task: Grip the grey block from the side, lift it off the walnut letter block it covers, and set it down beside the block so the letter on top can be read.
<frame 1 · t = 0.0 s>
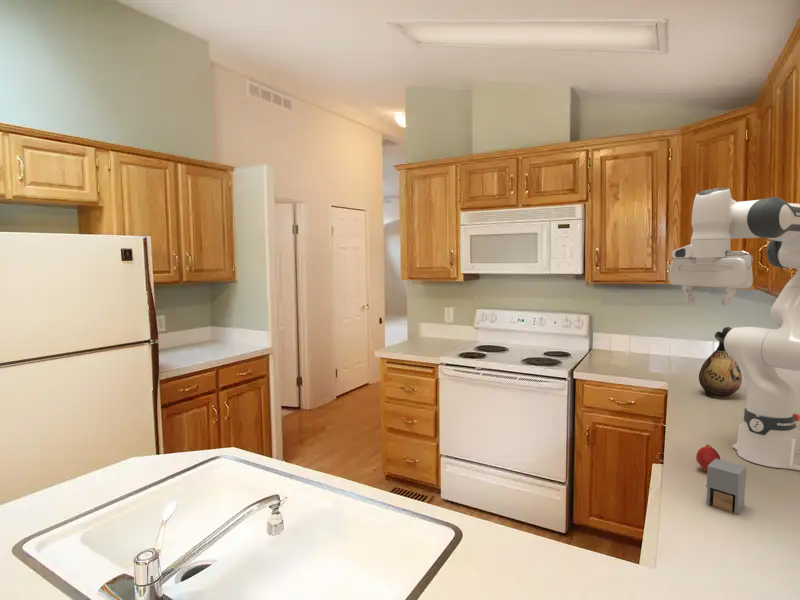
hand: (707, 303, 128), 48 cm above the countertop, tool pointing down, fingers open, 8 cm apart
ceramic jug: (719, 396, 210), on the countertop
letter block: (724, 506, 118), on the countertop
pomegranate: (707, 472, 137), on the countertop
grey block: (724, 505, 118), on the countertop
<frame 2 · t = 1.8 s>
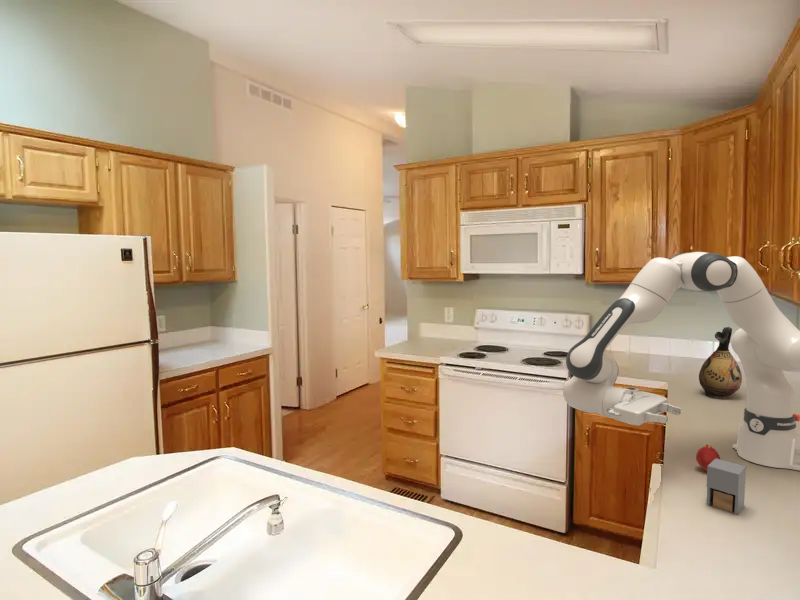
hand: (673, 415, 125), 20 cm above the countertop, tool horizontal, fingers open, 8 cm apart
nothing on the countertop moved.
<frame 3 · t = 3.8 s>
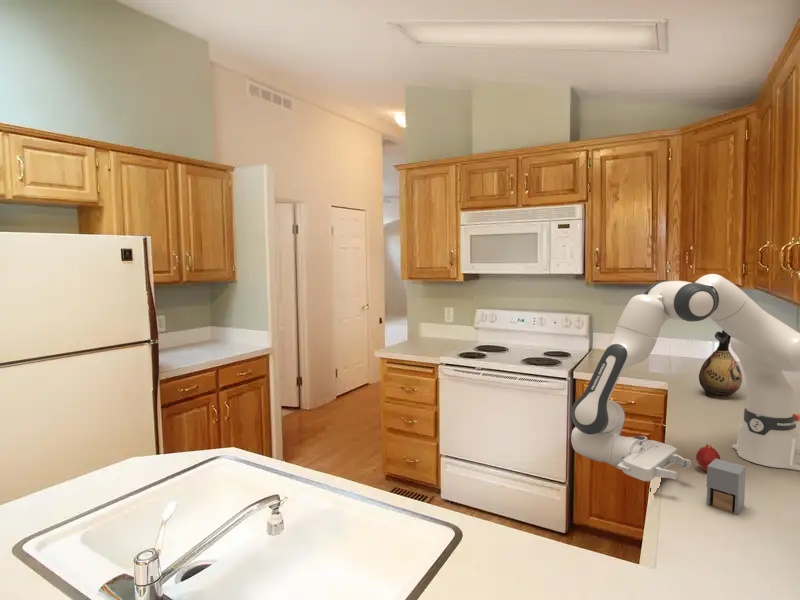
hand: (683, 470, 125), 6 cm above the countertop, tool horizontal, fingers open, 8 cm apart
nothing on the countertop moved.
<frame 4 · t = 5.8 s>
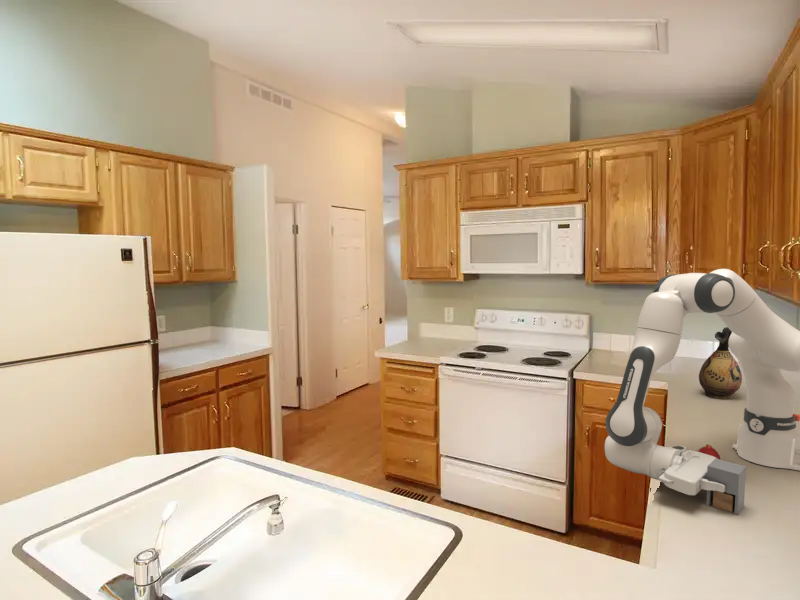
hand: (730, 483, 117), 6 cm above the countertop, tool horizontal, fingers closed on grey block, 6 cm apart
grey block: (724, 505, 118), on the countertop, touching gripper
everything else where it was.
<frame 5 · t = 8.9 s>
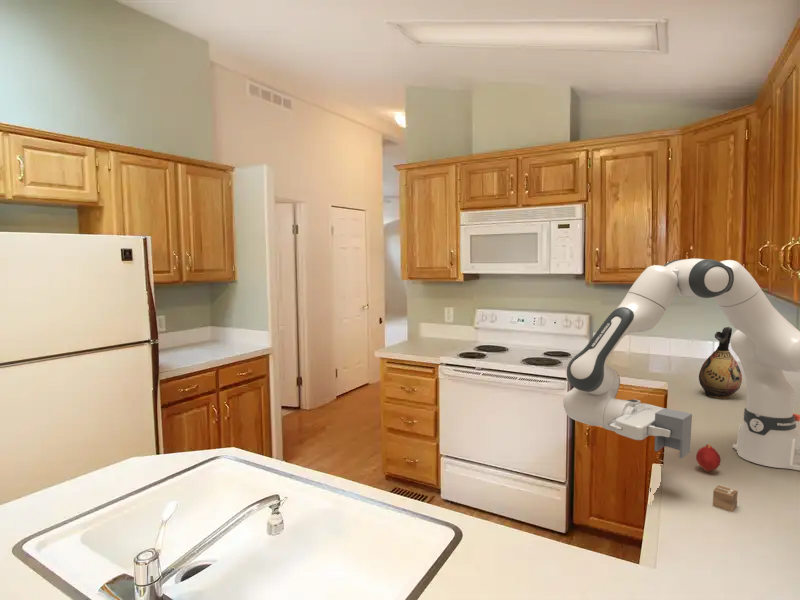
hand: (676, 429, 123), 17 cm above the countertop, tool horizontal, fingers closed on grey block, 6 cm apart
grey block: (671, 451, 124), point 11 cm above the countertop, touching gripper
everything else where it was.
when the fingers open (7 cm above the countertop, at t = 11.6 s): grey block drops 1 cm, on the countertop.
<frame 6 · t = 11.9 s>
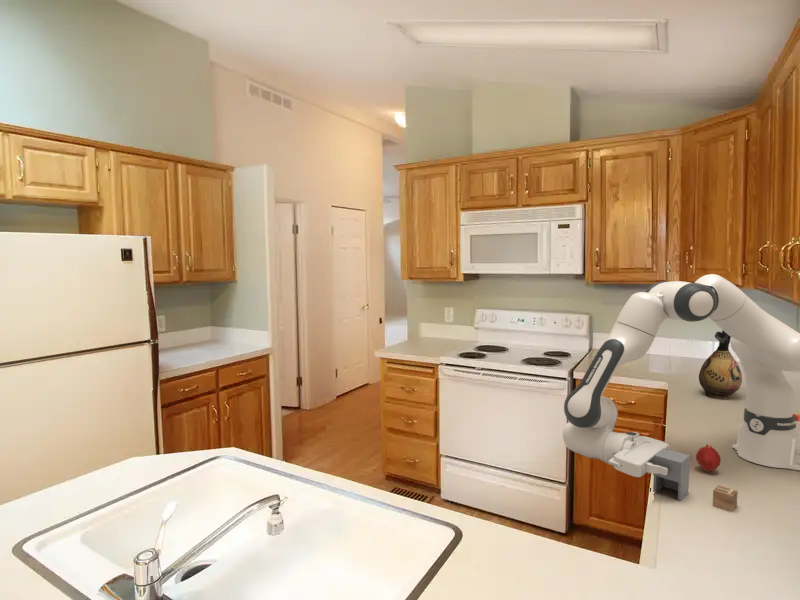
hand: (675, 465, 123), 7 cm above the countertop, tool horizontal, fingers open, 8 cm apart
grey block: (670, 493, 125), on the countertop
everything else where it was.
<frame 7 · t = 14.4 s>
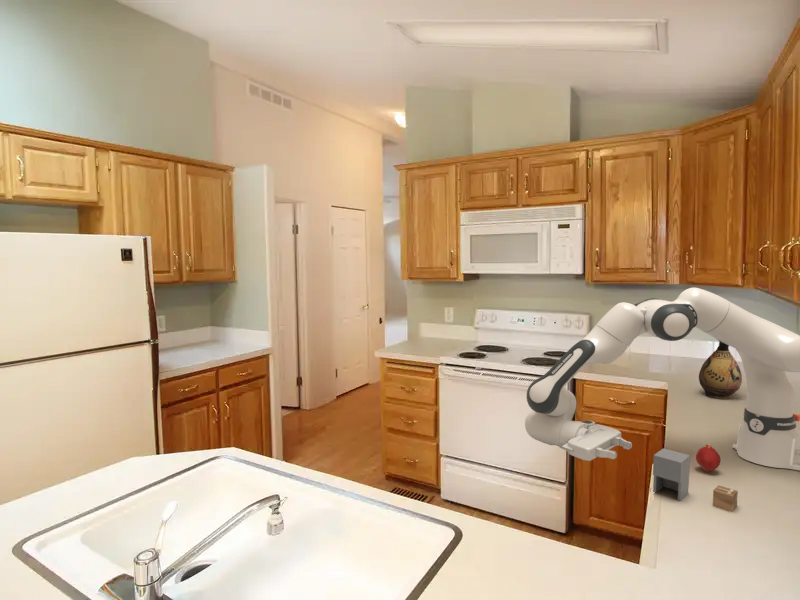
hand: (623, 450, 133), 8 cm above the countertop, tool horizontal, fingers open, 8 cm apart
nothing on the countertop moved.
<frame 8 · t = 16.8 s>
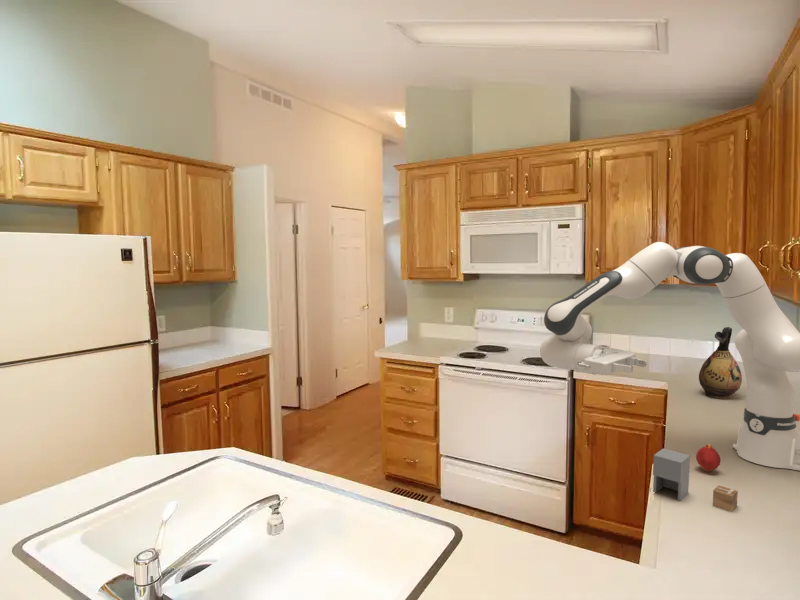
hand: (639, 366, 135), 30 cm above the countertop, tool horizontal, fingers open, 8 cm apart
nothing on the countertop moved.
at the end: grey block inside the target area (0.5 cm from its centre), on the countertop; grey block tilted 0°; letter block moved 0.1 cm from its start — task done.
